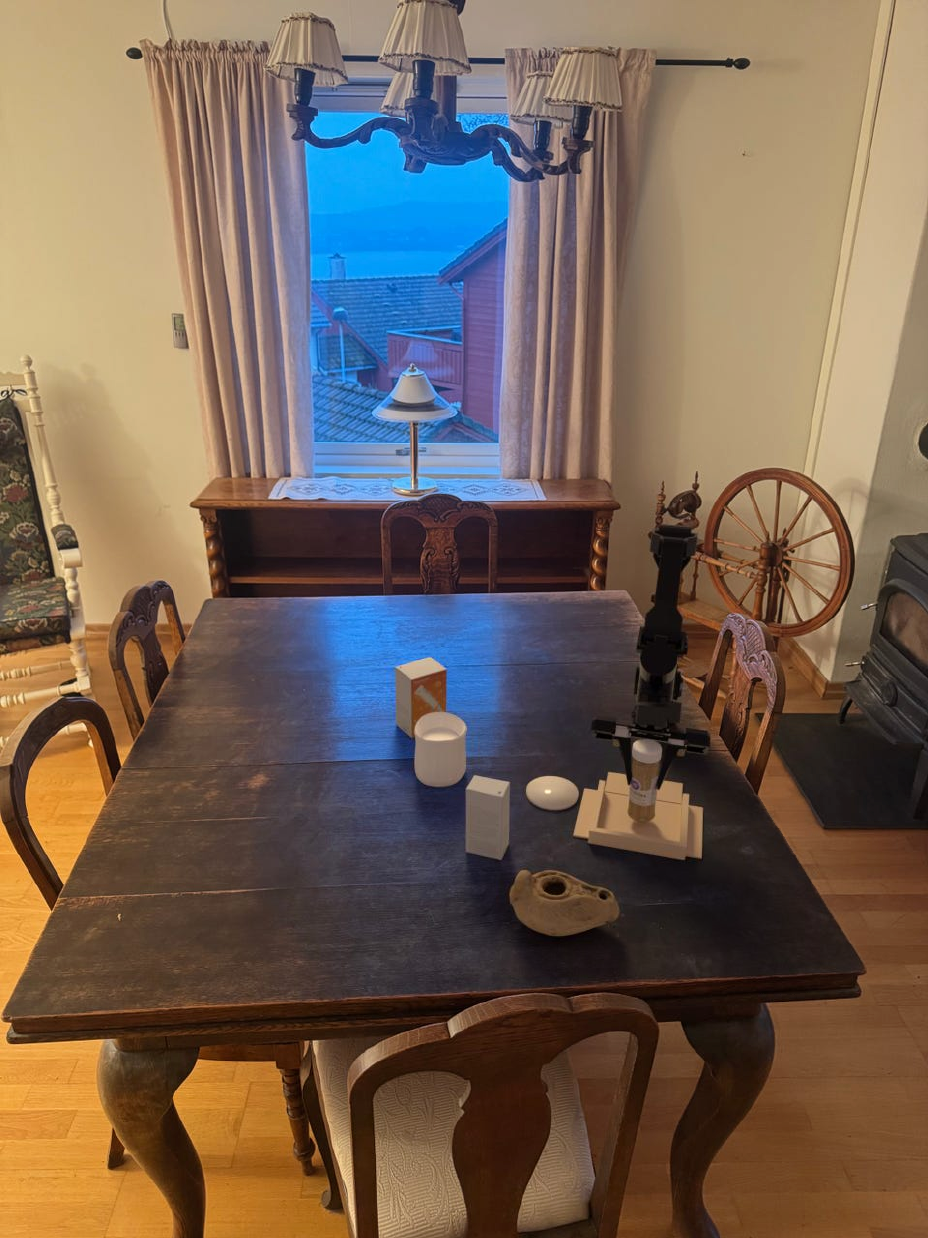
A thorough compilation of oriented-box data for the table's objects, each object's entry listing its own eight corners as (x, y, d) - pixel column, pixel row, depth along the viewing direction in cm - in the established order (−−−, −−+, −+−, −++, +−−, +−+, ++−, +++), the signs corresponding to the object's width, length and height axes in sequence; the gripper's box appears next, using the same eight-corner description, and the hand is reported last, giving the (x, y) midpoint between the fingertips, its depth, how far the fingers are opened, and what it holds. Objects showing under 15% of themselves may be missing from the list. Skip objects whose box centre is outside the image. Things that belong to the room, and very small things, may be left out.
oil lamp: (623, 949, 115) (628, 904, 111) (513, 952, 114) (514, 907, 111) (607, 892, 125) (612, 849, 121) (506, 894, 124) (507, 851, 121)
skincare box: (509, 844, 134) (511, 781, 129) (501, 861, 131) (503, 797, 126) (473, 836, 136) (473, 773, 131) (464, 852, 132) (464, 789, 127)
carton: (588, 770, 153) (589, 758, 152) (703, 788, 148) (704, 776, 147) (572, 840, 135) (573, 827, 134) (701, 863, 130) (703, 850, 129)
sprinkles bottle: (621, 816, 139) (627, 746, 133) (636, 802, 142) (641, 734, 136) (646, 827, 136) (653, 757, 130) (660, 813, 139) (667, 744, 133)
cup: (427, 795, 146) (426, 747, 142) (403, 765, 154) (402, 719, 150) (476, 780, 150) (476, 733, 146) (450, 752, 158) (450, 706, 154)
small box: (411, 739, 162) (410, 679, 156) (395, 724, 166) (393, 666, 161) (447, 727, 166) (447, 668, 160) (430, 713, 171) (430, 655, 165)
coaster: (563, 774, 151) (563, 771, 151) (587, 803, 144) (588, 800, 144) (517, 785, 148) (517, 782, 148) (540, 815, 141) (540, 812, 141)
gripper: (596, 672, 135) (582, 769, 130) (717, 687, 130) (708, 788, 125) (598, 691, 145) (586, 781, 140) (711, 706, 141) (702, 799, 136)
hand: (643, 787), depth 135 cm, fingers closed on sprinkles bottle, 4 cm apart
